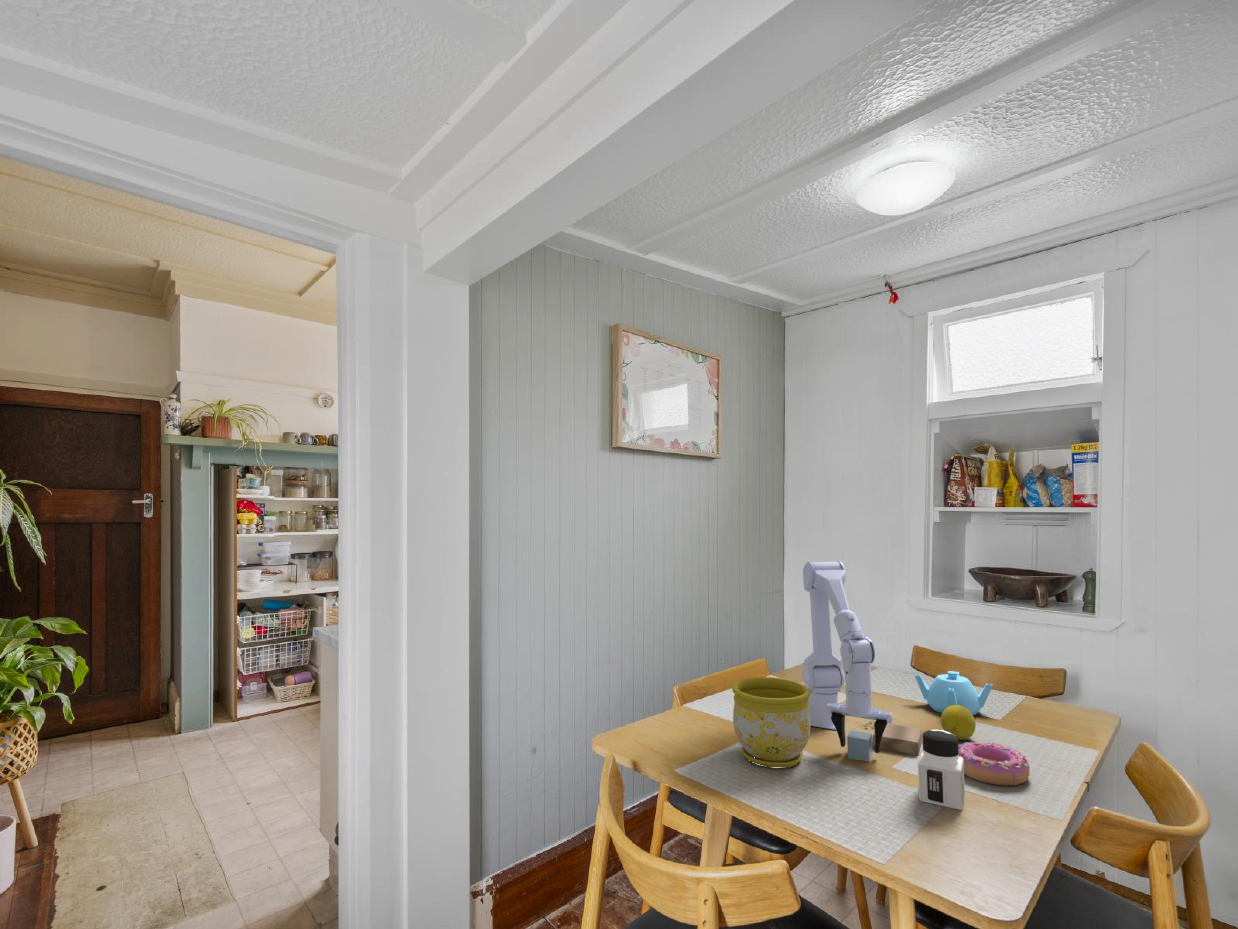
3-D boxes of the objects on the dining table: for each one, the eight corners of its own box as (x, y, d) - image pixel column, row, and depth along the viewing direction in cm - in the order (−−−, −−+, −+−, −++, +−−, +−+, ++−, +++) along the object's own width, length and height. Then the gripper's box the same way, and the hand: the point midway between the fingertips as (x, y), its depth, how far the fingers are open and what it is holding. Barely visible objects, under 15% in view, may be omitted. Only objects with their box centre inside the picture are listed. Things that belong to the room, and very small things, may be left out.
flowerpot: (826, 771, 141) (824, 696, 142) (749, 777, 138) (748, 701, 139) (791, 740, 159) (789, 674, 160) (723, 746, 156) (721, 678, 157)
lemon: (970, 748, 153) (969, 714, 154) (936, 740, 159) (934, 707, 159) (981, 735, 161) (980, 704, 162) (948, 728, 167) (947, 697, 167)
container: (962, 811, 123) (959, 743, 123) (918, 801, 127) (916, 735, 128) (965, 795, 129) (962, 730, 130) (923, 786, 133) (921, 724, 134)
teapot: (998, 717, 175) (996, 677, 176) (951, 721, 172) (950, 681, 172) (957, 700, 190) (955, 663, 191) (913, 704, 187) (912, 667, 187)
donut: (943, 761, 147) (942, 739, 147) (1005, 761, 146) (1004, 739, 146) (976, 789, 132) (975, 765, 132) (1045, 790, 132) (1044, 765, 132)
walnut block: (873, 747, 154) (873, 735, 154) (879, 734, 163) (878, 722, 163) (918, 755, 149) (918, 742, 149) (922, 741, 158) (921, 729, 158)
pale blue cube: (847, 758, 148) (847, 736, 149) (851, 751, 152) (850, 730, 153) (869, 762, 146) (868, 740, 146) (872, 755, 150) (871, 733, 150)
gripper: (823, 690, 150) (825, 748, 149) (889, 699, 143) (891, 760, 142) (829, 682, 156) (831, 738, 155) (892, 691, 149) (894, 750, 148)
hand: (860, 748), depth 149 cm, fingers open, 7 cm apart
